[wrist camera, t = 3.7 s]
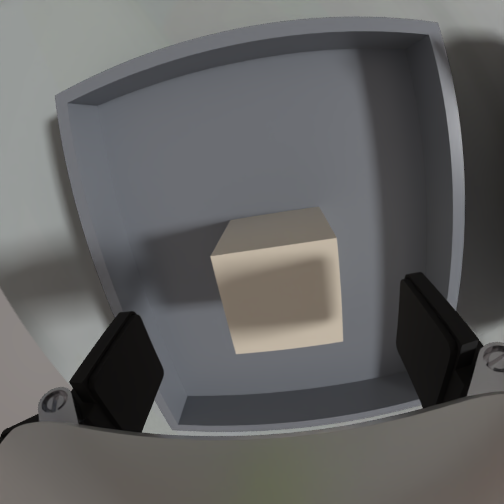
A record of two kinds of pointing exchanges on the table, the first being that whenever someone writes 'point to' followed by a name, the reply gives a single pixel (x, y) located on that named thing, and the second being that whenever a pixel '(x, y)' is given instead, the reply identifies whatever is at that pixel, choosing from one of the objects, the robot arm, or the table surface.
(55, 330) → the table surface
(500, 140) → the table surface
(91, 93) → the parts tray
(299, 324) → the tan wooden cube
